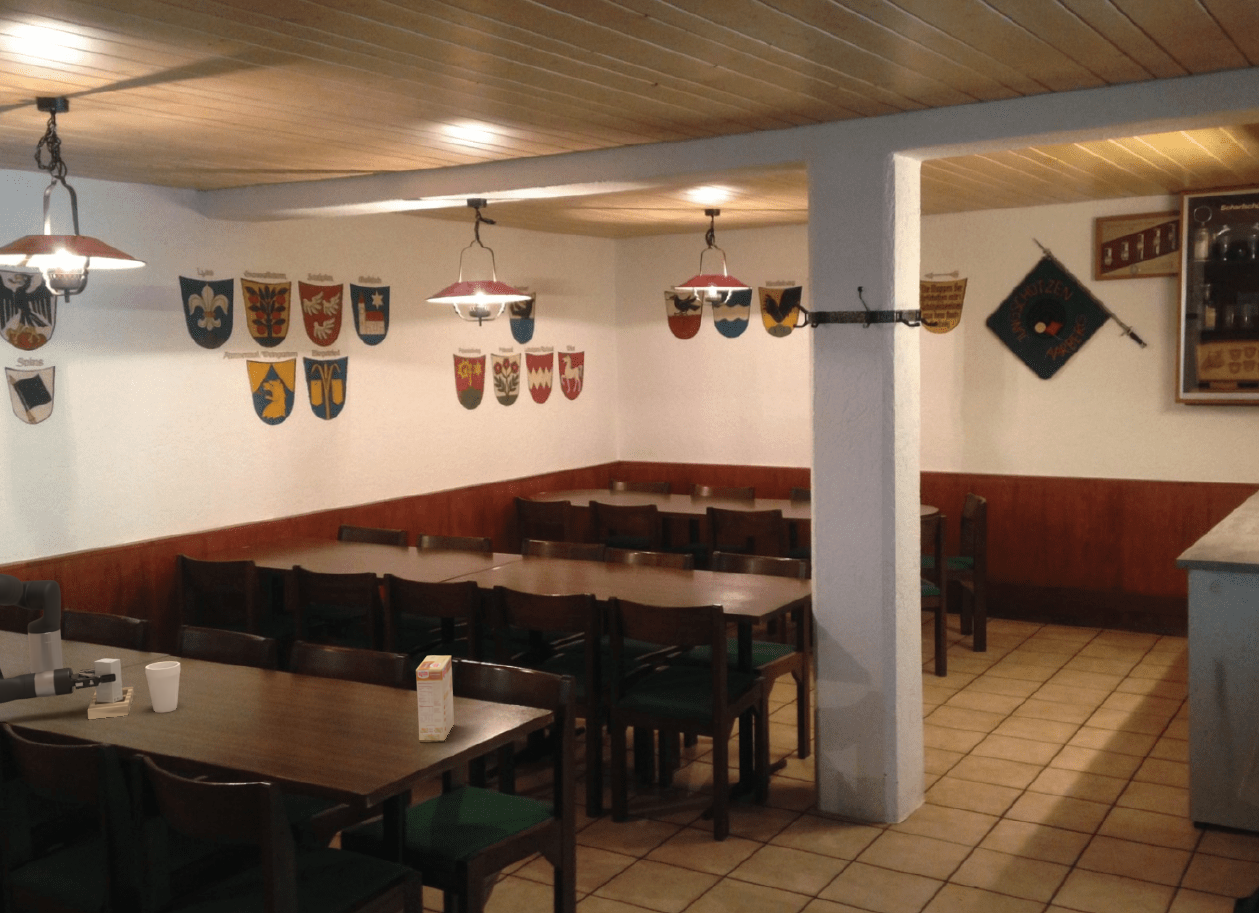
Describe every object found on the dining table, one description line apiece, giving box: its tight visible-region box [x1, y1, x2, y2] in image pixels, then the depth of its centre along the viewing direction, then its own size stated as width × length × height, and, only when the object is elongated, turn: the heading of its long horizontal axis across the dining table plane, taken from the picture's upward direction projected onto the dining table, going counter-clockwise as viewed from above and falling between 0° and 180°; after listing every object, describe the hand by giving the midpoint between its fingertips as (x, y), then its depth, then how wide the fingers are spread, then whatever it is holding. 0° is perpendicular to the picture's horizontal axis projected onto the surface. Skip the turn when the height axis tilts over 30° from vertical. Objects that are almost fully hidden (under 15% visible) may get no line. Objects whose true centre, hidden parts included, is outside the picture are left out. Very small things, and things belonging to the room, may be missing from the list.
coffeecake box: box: [415, 654, 455, 741], centre depth 319 cm, size 15×7×20 cm, turn 178°
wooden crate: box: [87, 686, 135, 720], centre depth 352 cm, size 22×10×3 cm, turn 19°
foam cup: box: [144, 660, 181, 713], centre depth 349 cm, size 10×9×13 cm
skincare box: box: [93, 657, 123, 703], centre depth 349 cm, size 6×4×12 cm
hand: (116, 674), depth 349 cm, fingers closed on skincare box, 6 cm apart
